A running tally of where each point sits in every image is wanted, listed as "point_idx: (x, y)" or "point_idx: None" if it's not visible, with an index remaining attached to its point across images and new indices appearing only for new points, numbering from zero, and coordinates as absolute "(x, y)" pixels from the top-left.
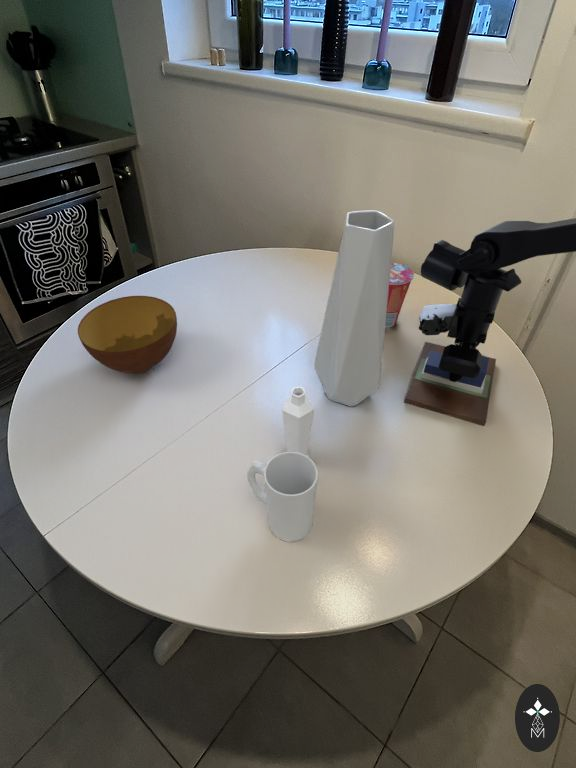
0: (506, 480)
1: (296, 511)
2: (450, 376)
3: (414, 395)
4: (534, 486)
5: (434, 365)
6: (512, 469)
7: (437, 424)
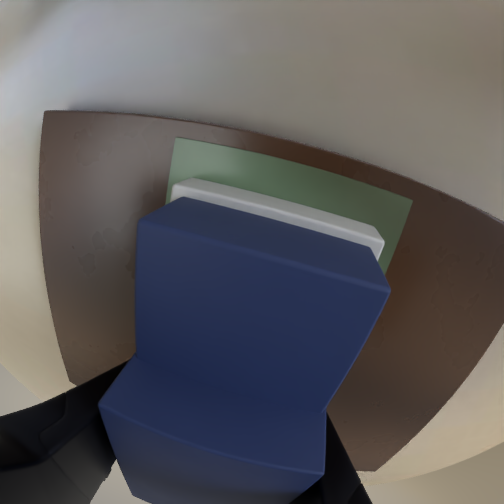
0: (4, 348)
1: None
2: (118, 368)
3: (62, 150)
4: (21, 381)
5: (148, 300)
6: (24, 368)
7: (27, 243)
